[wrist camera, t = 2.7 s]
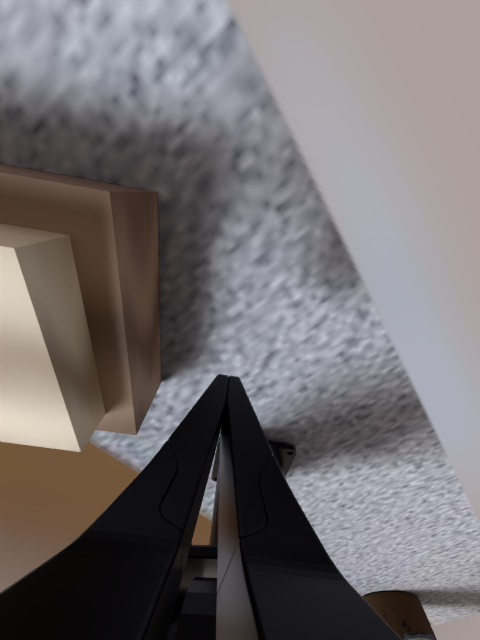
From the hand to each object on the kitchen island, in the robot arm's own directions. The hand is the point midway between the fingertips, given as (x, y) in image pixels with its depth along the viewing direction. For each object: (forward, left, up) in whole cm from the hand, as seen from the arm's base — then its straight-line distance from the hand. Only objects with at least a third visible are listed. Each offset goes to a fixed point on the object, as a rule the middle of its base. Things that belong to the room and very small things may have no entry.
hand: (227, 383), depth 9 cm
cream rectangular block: (0, +9, -1) cm, 9 cm away
